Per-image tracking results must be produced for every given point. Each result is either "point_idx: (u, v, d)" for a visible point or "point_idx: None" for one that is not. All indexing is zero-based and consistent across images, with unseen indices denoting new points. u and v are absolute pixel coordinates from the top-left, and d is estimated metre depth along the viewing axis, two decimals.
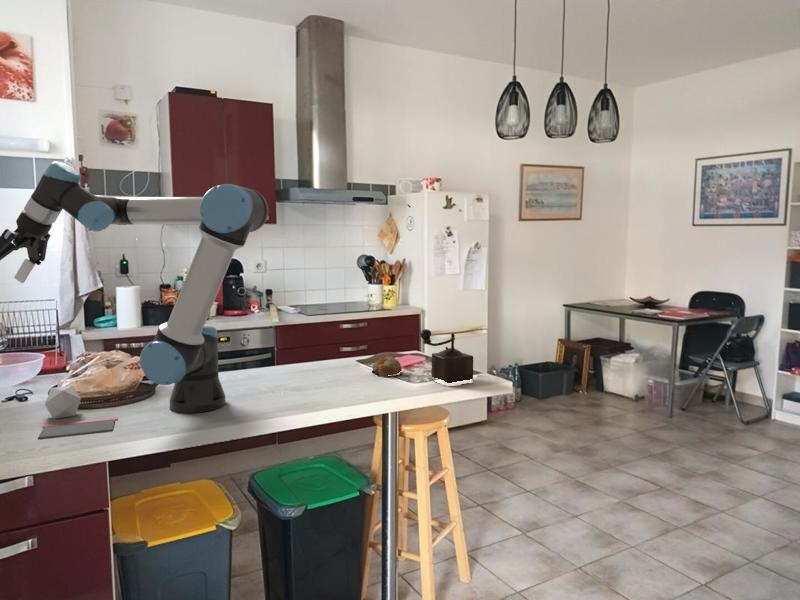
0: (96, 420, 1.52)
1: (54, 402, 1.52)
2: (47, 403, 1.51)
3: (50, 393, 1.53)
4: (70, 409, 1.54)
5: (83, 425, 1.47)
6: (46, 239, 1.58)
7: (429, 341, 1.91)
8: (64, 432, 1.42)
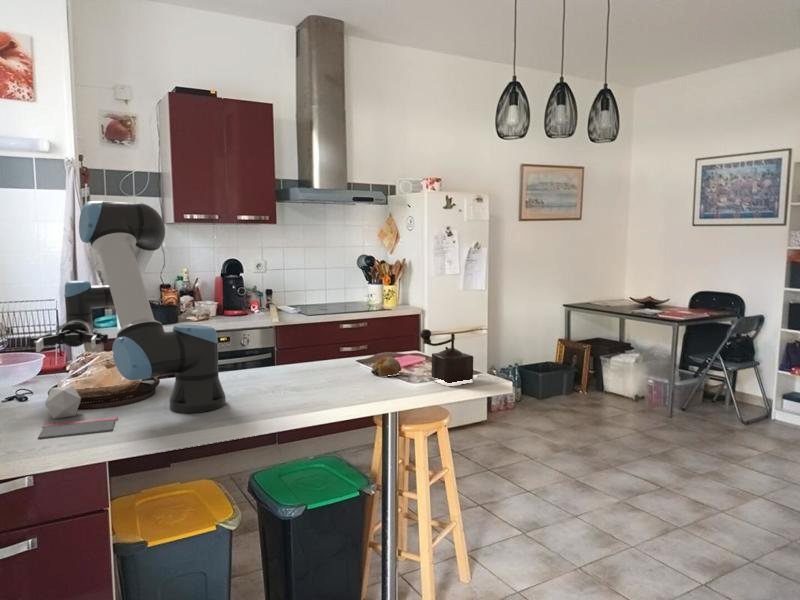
0: (96, 420, 1.52)
1: (54, 402, 1.52)
2: (47, 403, 1.51)
3: (50, 393, 1.53)
4: (70, 409, 1.54)
5: (83, 425, 1.47)
6: (95, 331, 1.79)
7: (429, 341, 1.91)
8: (64, 432, 1.42)
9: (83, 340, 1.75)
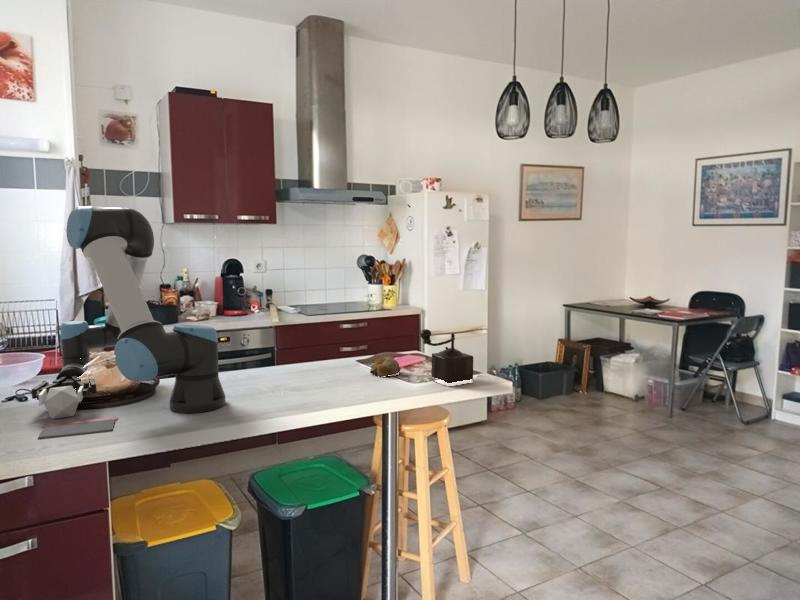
0: (96, 420, 1.52)
1: (52, 402, 1.52)
2: (45, 403, 1.51)
3: (49, 393, 1.53)
4: (68, 409, 1.53)
5: (83, 425, 1.47)
6: None
7: (429, 341, 1.91)
8: (64, 432, 1.42)
9: (76, 388, 1.64)
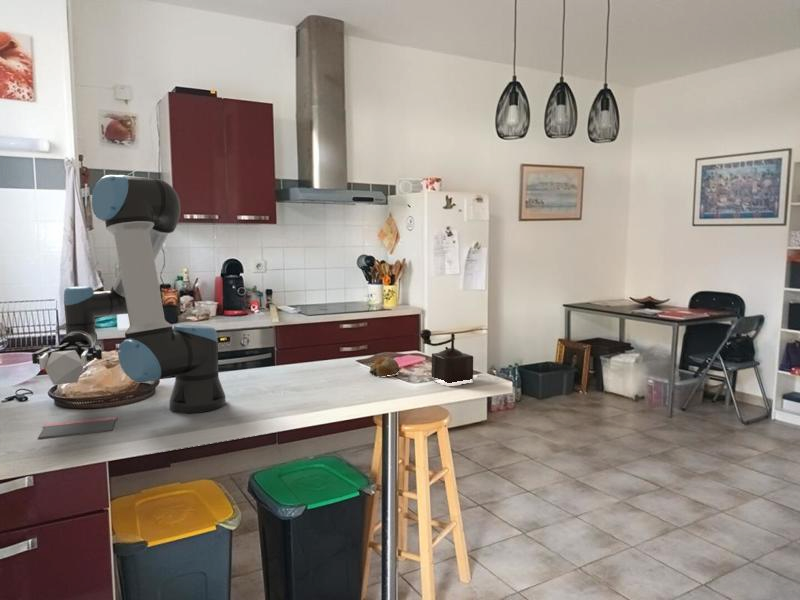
0: (96, 420, 1.52)
1: (54, 367, 1.40)
2: (47, 367, 1.40)
3: (50, 357, 1.42)
4: (71, 375, 1.42)
5: (83, 425, 1.47)
6: (96, 344, 1.56)
7: (429, 341, 1.91)
8: (64, 432, 1.42)
9: (80, 355, 1.52)
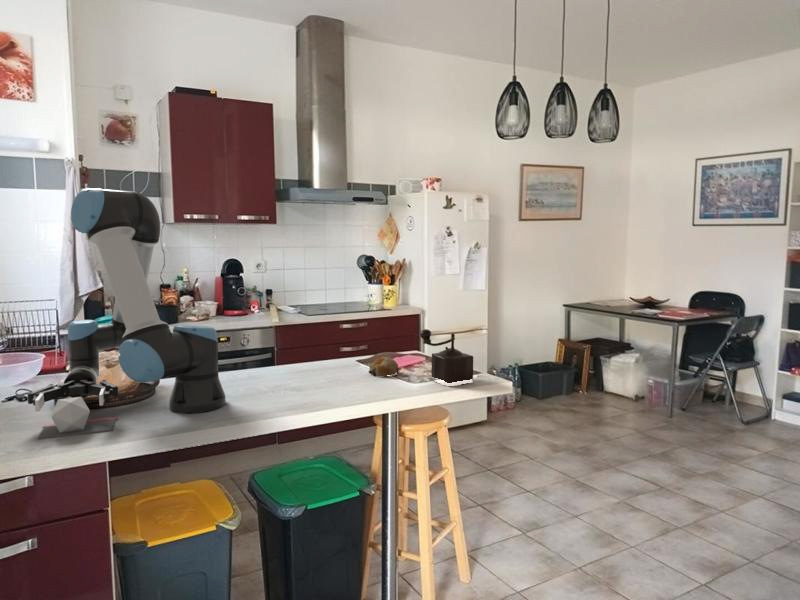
0: (96, 420, 1.52)
1: (61, 415, 1.40)
2: (53, 416, 1.39)
3: (57, 405, 1.41)
4: (78, 423, 1.41)
5: None
6: (103, 381, 1.56)
7: (429, 341, 1.91)
8: (64, 432, 1.42)
9: (89, 392, 1.52)
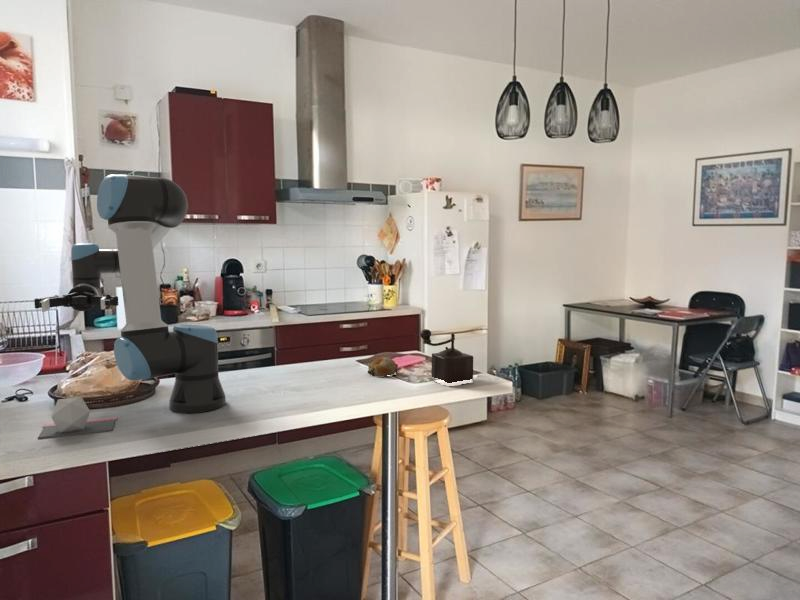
0: (96, 420, 1.52)
1: (61, 415, 1.40)
2: (53, 416, 1.39)
3: (57, 405, 1.41)
4: (78, 423, 1.41)
5: None
6: (104, 294, 1.68)
7: (429, 341, 1.91)
8: (64, 432, 1.42)
9: (92, 303, 1.64)
